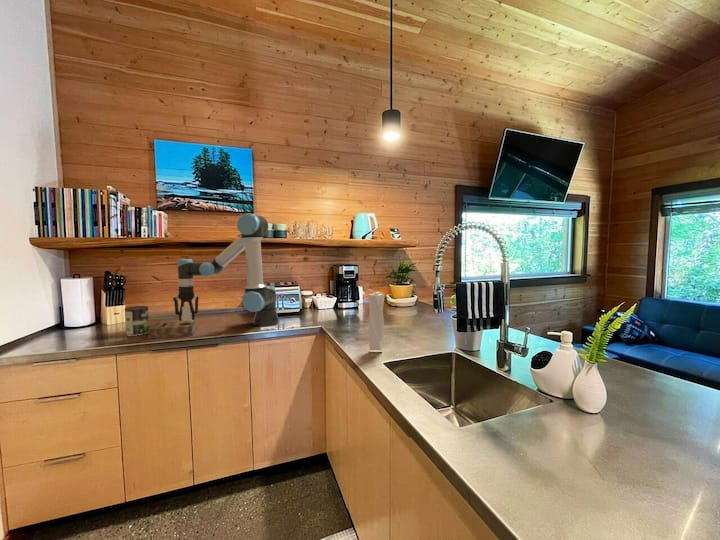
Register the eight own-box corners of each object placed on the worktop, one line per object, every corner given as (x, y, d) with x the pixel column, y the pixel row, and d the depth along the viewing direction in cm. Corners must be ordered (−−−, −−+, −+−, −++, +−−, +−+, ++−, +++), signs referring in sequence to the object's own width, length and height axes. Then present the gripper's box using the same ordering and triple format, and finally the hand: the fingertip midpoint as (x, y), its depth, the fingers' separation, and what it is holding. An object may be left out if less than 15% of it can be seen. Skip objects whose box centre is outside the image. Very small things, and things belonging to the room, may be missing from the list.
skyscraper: (366, 353, 139) (367, 289, 137) (366, 348, 147) (366, 287, 145) (385, 353, 139) (385, 289, 137) (383, 348, 147) (384, 287, 145)
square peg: (192, 325, 188) (191, 305, 187) (190, 327, 184) (189, 306, 183) (184, 326, 187) (183, 306, 186) (182, 327, 183) (181, 307, 182)
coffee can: (152, 330, 176) (151, 305, 176) (143, 335, 166) (142, 309, 165) (132, 331, 175) (131, 306, 174) (121, 336, 165) (120, 309, 164)
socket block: (197, 329, 180) (197, 320, 179) (192, 336, 166) (192, 326, 166) (157, 332, 174) (157, 322, 174) (148, 338, 161) (147, 329, 160)
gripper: (203, 284, 190) (204, 323, 191) (171, 285, 185) (172, 325, 187) (201, 286, 183) (202, 326, 184) (167, 287, 178) (168, 328, 179)
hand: (187, 325), depth 185 cm, fingers closed on square peg, 4 cm apart
